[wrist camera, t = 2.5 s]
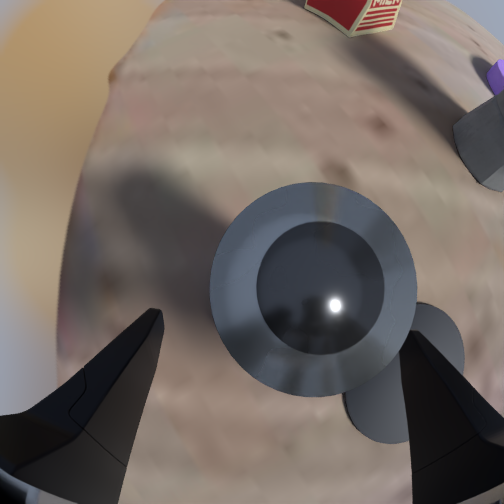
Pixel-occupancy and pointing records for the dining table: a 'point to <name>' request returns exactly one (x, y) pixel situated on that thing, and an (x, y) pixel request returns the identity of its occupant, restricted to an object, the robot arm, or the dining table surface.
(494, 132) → the coffeepot
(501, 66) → the masking tape
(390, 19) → the milk carton
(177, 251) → the dining table surface
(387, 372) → the rubber pad
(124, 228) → the dining table surface
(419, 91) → the dining table surface
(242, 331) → the grey metal flared cylinder
